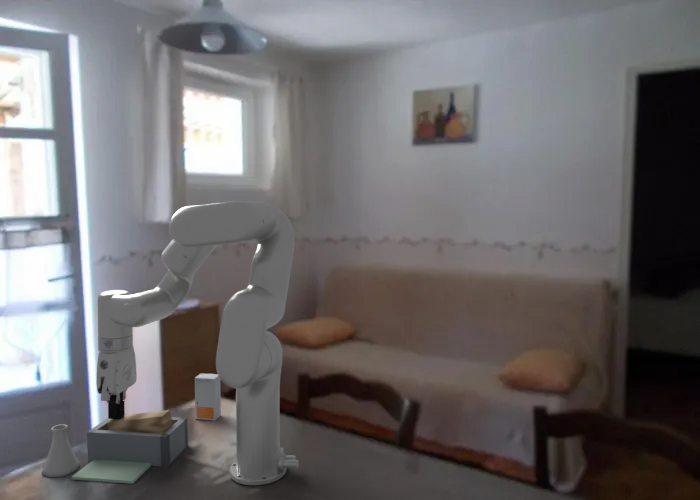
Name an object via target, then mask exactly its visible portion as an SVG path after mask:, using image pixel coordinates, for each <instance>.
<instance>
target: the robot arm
mask: <svg viewBox="0 0 700 500" xmlns="http://www.w3.org/2000/svg"><path fill="white" fill-rule="evenodd" d="M168 224H169V225H168V232H169V235H170V237H171V239H172V240H171V241H170V242H169V243H168V245H167V246H166V247H165V248H164V250H163V251H162V252H161V254H160V255H161V256H160V259H161V263H162V264H163V266H164V267H165V269H167V271H166V273H165V275H164V276H163V278H162V279H161V280H160V282H158V284H157V285H156V286H155V288H153V289H149V290H145V291H140V292H136V293H134V294H132V293H131V292H130V291H128V290H124V289H110V290H105V291H102V292H100V293H99V294H98V295H97V350H98V355H97V364H96V365H97V366H96V391H97V393H98V394H101V395H100V401H102V402H106V404H107V409H108V411H107V412H108V413H107V415H108V417H107V418H109V419H118V420H120V419H121V418H123V417H124V416H125V415H126V414H125V401H126V397H127V390H128V389H130V388H131V387H132V386H134V385H135V384H136V382H137V362H136V360H137V359H136V354H135V353H136V352H135V349H134V341H133V340H134V339H133V338H134V337H133V336H134V335H133V333H134V332H133V331H134V329H133V328H140V327H143V326H146V325H149V324H152V323H155V322H157V321H161V320H164V319H166V318H168V317H169V316H170V315H172V314H173V313H174V311H176V310H177V308H178V307H179V306H180V304H181V303H182V302H183V301H184V300H185V298H186V297H187V296H188V294H189V293H190V290H191V288H192V286H193V285H192V284H193V282H194V276H195V274H196V273H197V272H198V270H199V269H200V268H201V266H202V265H203V264H204V263H205V261H206V260H207V259H208V257H210V255H211V253H213V251H214V250H216V247H217V246H221V245H230V244H231V245H233V244H242V243H249V242H250V243H251V242H256V244H257V247H256V249H255V253H254V255H253V258H252V260H251V264H250V271H249V272H250V273H249V278H248V283H247V286H246V288H244V289H241V290H239V291H237V292H235V293H234V294H233V295H232V296H231V297H230V298H229V299H228V300H227V302H226V304H225V306H224V308H223V312H222V314H221V315H222V316H221V322H220V327H219V328H220V329H219V335H218V343H217V348H216V354H215V355H216V356H215V368H216V374H218V375H219V377H220V381H221V382H222V383H223V384H224V385H225V386H227V387H229V388H231V389H235V430H236V431H235V439H236V444H235V446H236V460H235V461H234V462H233V463H231V465H230V467H229V476H230V477H229V478H230V479H232V480H233V481H234V482H235V483H237V484H241V485H244V486H245V485H246V486H263V485H267V484H271V483H274V482H277V481H278V480H280V479H281V478H283V477H284V476H285V475H286V473H287V469H289V470H290V469H291V470H298V469H299V459H296V458H297V456H296V455H292V454H289V455H288V454H286V453H284V447H281V444H280V442H281V441H280V440H281V439H280V438H281V436H280V435H281V434H280V433H281V432H280V426H281V425H280V421H281V420H280V417H281V416H280V415H281V414H280V402H281V401H280V400H281V399H280V397H281V395H280V389H281V387H280V385H281V375H282V366H283V354H284V353H283V347H282V344H281V342H280V340H279V338H278V337H277V336H276V335H275V334H274V333H272V332H270V331H268V330H269V329H270V328H272V327H273V326H275V325H277V324H279V322H280V321H281V320H282V319H283V317H284V315H285V311H286V304H287V298H288V290H289V287H290V286H289V284H290V278H291V270H292V264H293V259H294V252H295V246H296V245H295V244H296V242H295V241H296V240H295V239H296V238H295V237H296V236H295V235H296V234H295V231H294V228H293V225H292V222H291V220H290V218H289V217H288V215H286V214H285V213H284V211H283V210H281V209H280V208H278V207H277V206H276V205H274V204H272V203H270V202H266V201H261V200H231V201H225V202H224V201H223V202H215V203H207V204H197V205H186V206H183V207H181V208H179V209H178V210H177V211H175V213H174V214H173V215H172V216H171V218H170V220H169V223H168Z"/></svg>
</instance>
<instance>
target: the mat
mask: <svg viewBox="0 0 700 500" xmlns="http://www.w3.org/2000/svg"><path fill="white" fill-rule="evenodd" d="M151 467H152V466H151V463H141V462H126V461H111V460H96V459H94V460H93V461H91V462H88V463H87V464H86V465H85V466H84V467H82V468H81V469H80V470H79V471H77V472H76V473H74V474H73V475H72V476H71V480H78V481H90V482H101V481H102V483H104V482H105V483H106V482H107V483H116V484H119V483H120V484H131V485H132V484H134V483H135V482H136V481H137V480H138V479H139V478H141V476H142V475H144V474H145V473H146V472H147V471H148V470H149V469H150V468H151Z"/></svg>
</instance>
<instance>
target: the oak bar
mask: <svg viewBox="0 0 700 500" xmlns="http://www.w3.org/2000/svg"><path fill="white" fill-rule="evenodd" d="M171 417H172V413H171V410H170V409H167V410H166V409H165V410H159V411H157V410H156V411H149V412H140V413H133V414H125V416H124V417H123V418H121V419H120V420H118V419H111V420H110V421H109V422H107V426H108V431H125V432H142V433H159V434H164V433H165V432H166V431H167V430H168V429H169V428H170V427H171V426H173V424H172V418H171Z"/></svg>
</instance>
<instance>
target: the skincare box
mask: <svg viewBox="0 0 700 500" xmlns="http://www.w3.org/2000/svg"><path fill="white" fill-rule="evenodd" d="M221 395H222V393H221V379H220V377H219V375H218V373H199V374H198V375H196V376H195V377H194V417H195V418H194V419H195V420H204V421H213V422H214V421H215V422H216V420H218V419H219V417H221V416H222V414H221V413H222V409H221V408H222V405H221V404H222V403H221V401H222V400H221Z"/></svg>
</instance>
